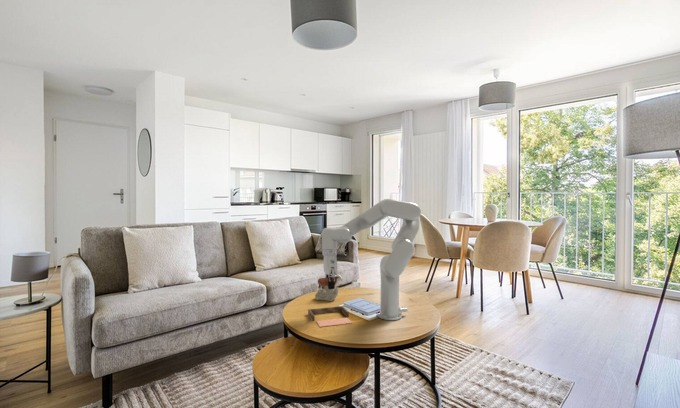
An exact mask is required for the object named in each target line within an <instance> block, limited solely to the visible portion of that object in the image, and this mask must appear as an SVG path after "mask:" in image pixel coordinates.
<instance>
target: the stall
mask: <svg viewBox="0 0 680 408" xmlns="http://www.w3.org/2000/svg"><path fill="white" fill-rule="evenodd" d="M338 312H341V313H342V314H343V315H345V316H346V317H345V318H349V317H350V312H349V311H348V310H347V308H345V307H344V305H338V306H330V307H329V306H328V307H319V308H309V309H307V314H308V317H310V319H311V321H312V322H315V318H316V317H315V315H319V314H326V313H328V314H329V313H338Z"/></svg>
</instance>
